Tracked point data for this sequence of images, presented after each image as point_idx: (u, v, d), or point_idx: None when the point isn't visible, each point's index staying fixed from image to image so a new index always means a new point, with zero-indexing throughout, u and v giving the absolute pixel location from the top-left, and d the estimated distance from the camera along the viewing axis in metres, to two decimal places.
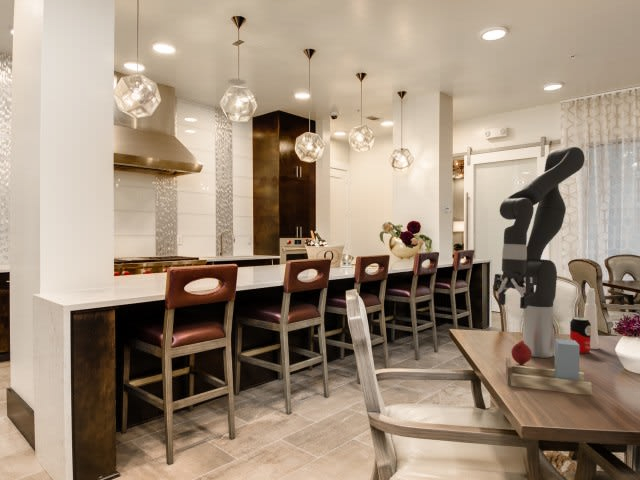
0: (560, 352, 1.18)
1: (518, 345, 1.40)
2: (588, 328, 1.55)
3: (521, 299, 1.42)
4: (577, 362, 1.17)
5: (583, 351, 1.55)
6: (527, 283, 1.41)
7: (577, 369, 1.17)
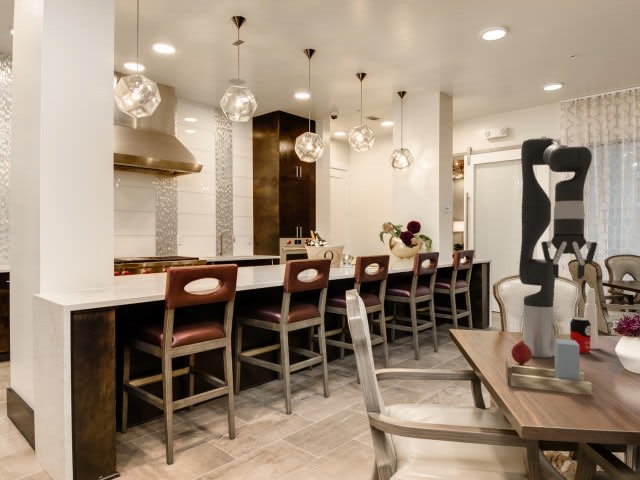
0: (560, 352, 1.18)
1: (518, 345, 1.39)
2: (588, 328, 1.55)
3: (580, 268, 1.22)
4: (577, 362, 1.17)
5: (583, 351, 1.55)
6: (593, 249, 1.21)
7: (577, 369, 1.17)
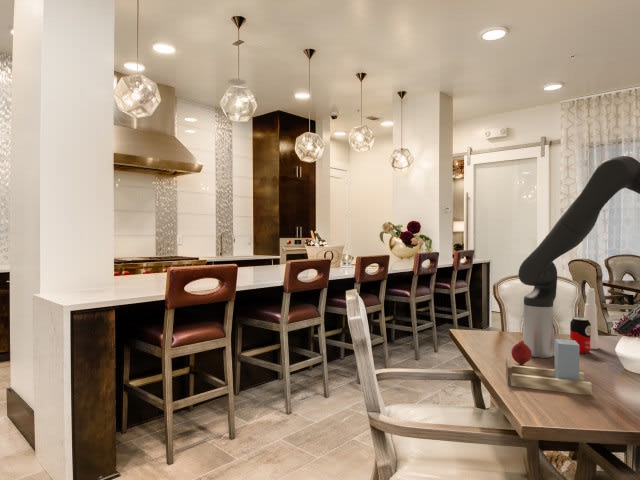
0: (560, 352, 1.18)
1: (518, 345, 1.40)
2: (588, 328, 1.55)
3: None
4: (577, 362, 1.17)
5: (583, 351, 1.55)
6: None
7: (577, 369, 1.17)
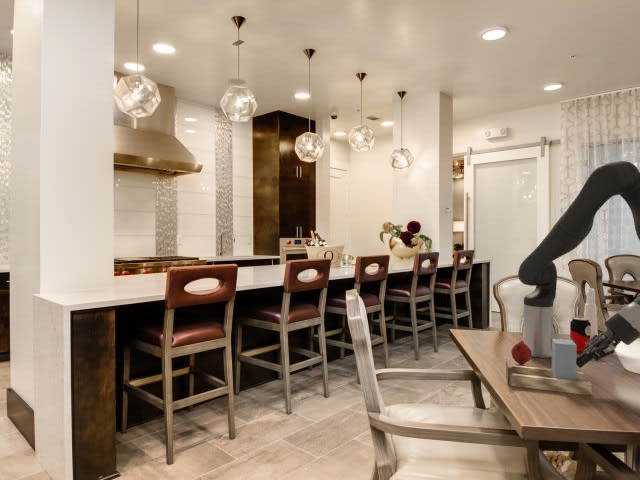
0: (557, 351, 1.18)
1: (518, 345, 1.40)
2: (588, 328, 1.55)
3: None
4: (574, 362, 1.17)
5: (583, 351, 1.55)
6: None
7: (574, 369, 1.17)
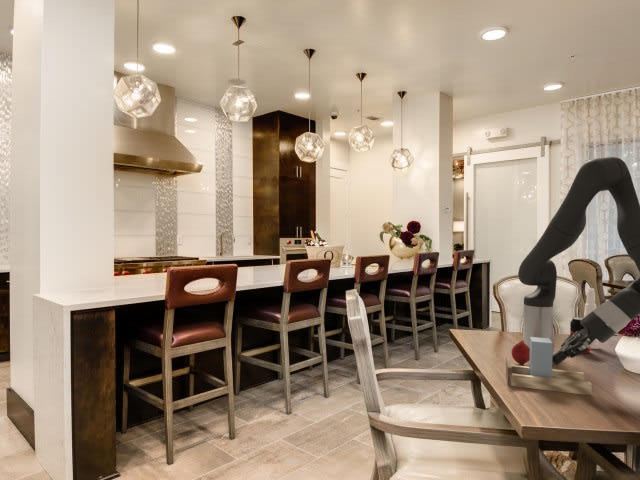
0: (534, 349, 1.20)
1: (518, 345, 1.39)
2: None
3: None
4: (550, 359, 1.19)
5: None
6: None
7: (550, 366, 1.19)
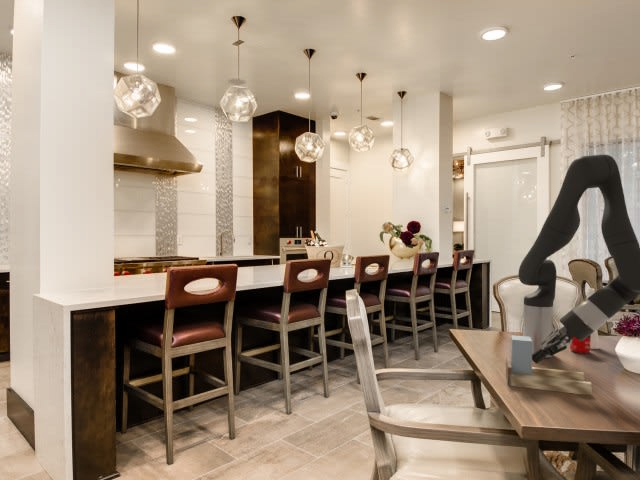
0: (514, 347, 1.22)
1: None
2: None
3: None
4: (530, 357, 1.21)
5: (583, 351, 1.55)
6: None
7: (530, 364, 1.21)
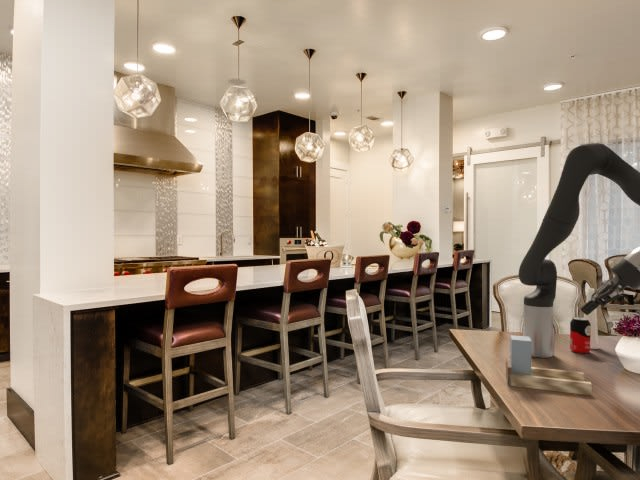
0: (514, 347, 1.22)
1: None
2: (588, 328, 1.55)
3: None
4: (529, 357, 1.21)
5: (583, 351, 1.55)
6: None
7: (529, 364, 1.21)
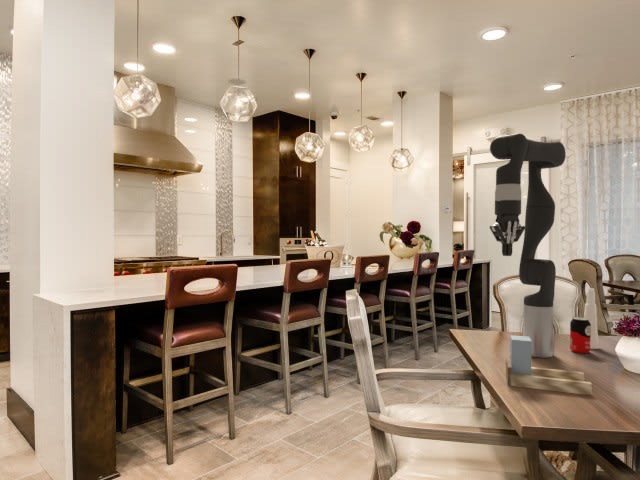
0: (514, 347, 1.22)
1: None
2: (588, 328, 1.55)
3: (510, 246, 1.35)
4: (529, 357, 1.21)
5: (583, 351, 1.55)
6: (521, 231, 1.37)
7: (529, 364, 1.21)
